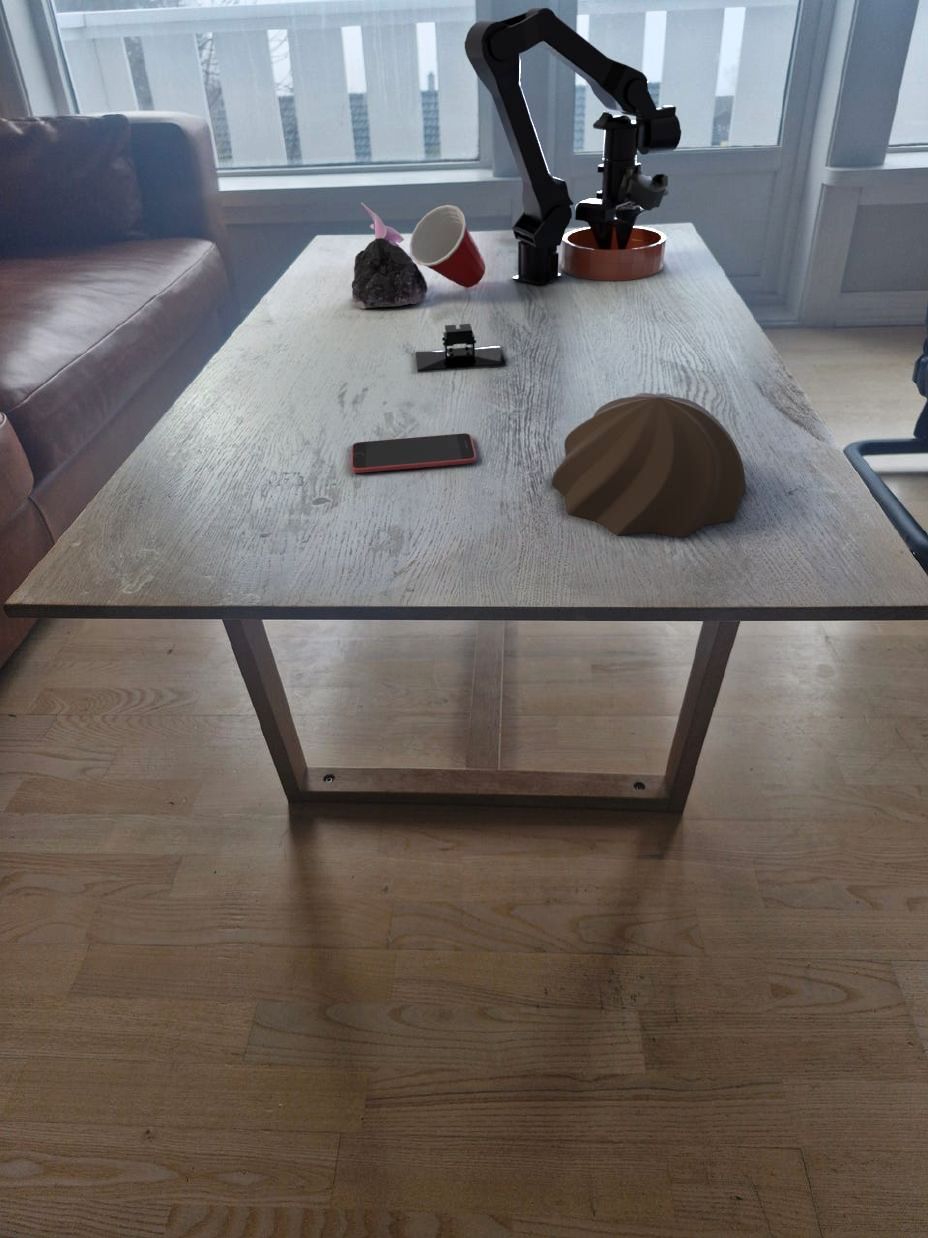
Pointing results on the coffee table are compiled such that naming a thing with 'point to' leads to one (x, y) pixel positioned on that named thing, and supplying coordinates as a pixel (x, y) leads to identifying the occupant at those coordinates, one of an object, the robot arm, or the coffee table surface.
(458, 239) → the plastic cup
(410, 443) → the smartphone
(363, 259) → the crystal cluster
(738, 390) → the coffee table surface
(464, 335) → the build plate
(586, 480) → the decorative dome
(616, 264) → the bowl
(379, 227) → the lily
